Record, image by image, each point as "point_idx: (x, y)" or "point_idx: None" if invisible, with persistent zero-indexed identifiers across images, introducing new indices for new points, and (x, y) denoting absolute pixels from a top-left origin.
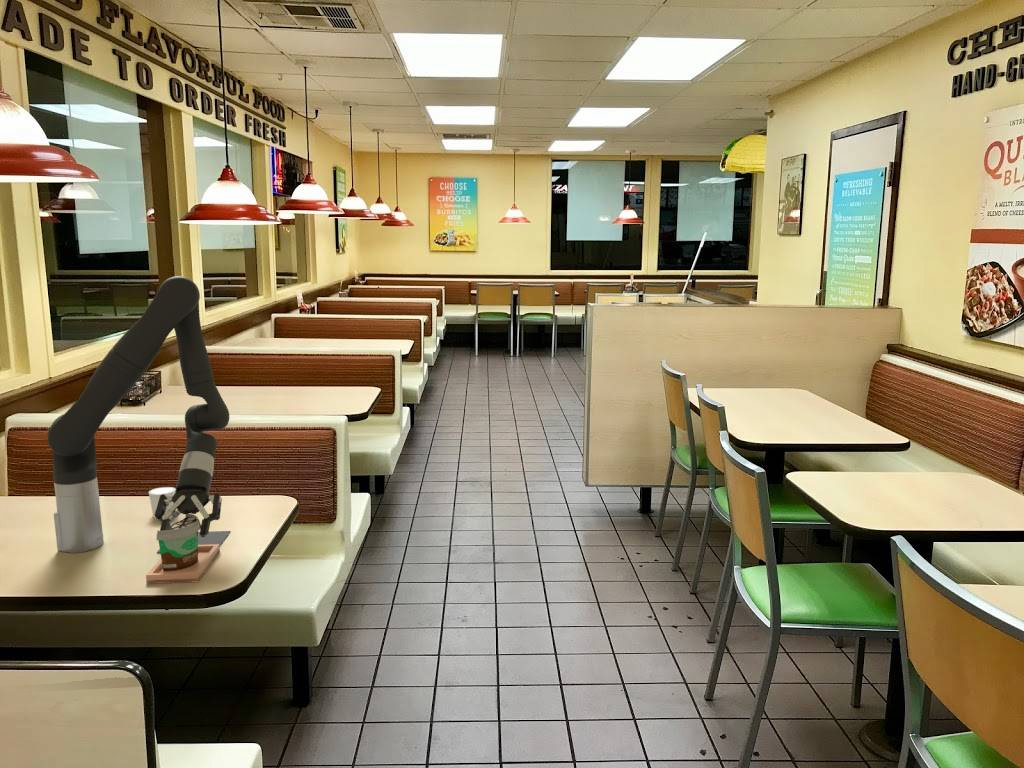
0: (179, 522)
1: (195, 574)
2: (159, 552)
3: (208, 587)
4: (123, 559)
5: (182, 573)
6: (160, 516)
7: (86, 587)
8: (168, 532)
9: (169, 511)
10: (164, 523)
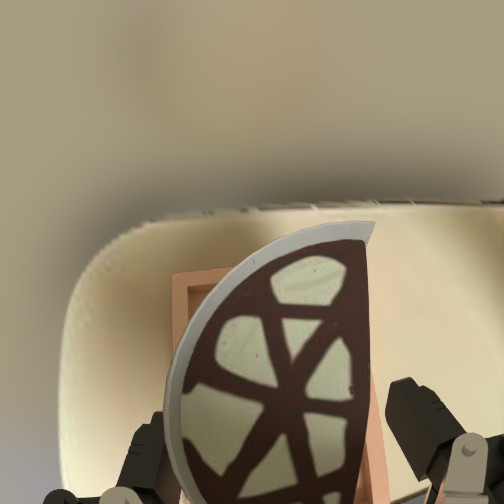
0: (338, 454)
1: (180, 275)
2: (426, 492)
3: (142, 254)
4: (497, 416)
5: (222, 271)
6: (498, 449)
7: (461, 241)
8: (302, 235)
9: (469, 493)
10: (440, 422)
